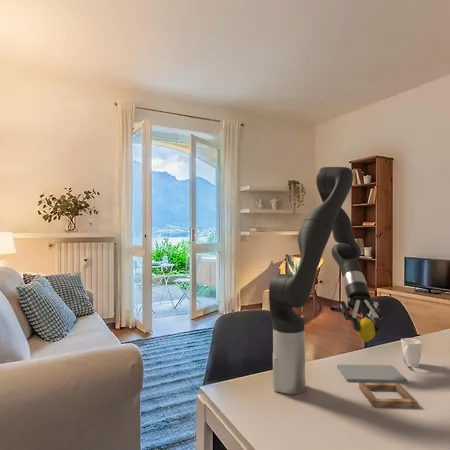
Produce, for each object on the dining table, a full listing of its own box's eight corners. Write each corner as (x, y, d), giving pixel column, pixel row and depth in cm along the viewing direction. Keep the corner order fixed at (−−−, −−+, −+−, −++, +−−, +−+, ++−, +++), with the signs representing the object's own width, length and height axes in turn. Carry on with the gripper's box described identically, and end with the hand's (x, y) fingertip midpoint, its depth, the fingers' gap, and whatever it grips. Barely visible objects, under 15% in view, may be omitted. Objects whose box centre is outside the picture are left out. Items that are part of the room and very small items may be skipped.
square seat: (372, 406, 93) (372, 400, 93) (359, 387, 104) (358, 382, 104) (417, 407, 92) (417, 401, 92) (398, 388, 104) (398, 383, 104)
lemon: (377, 345, 111) (376, 319, 112) (358, 344, 113) (358, 319, 113) (373, 339, 117) (373, 315, 117) (355, 339, 118) (355, 314, 118)
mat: (346, 381, 109) (346, 379, 109) (337, 366, 121) (337, 364, 121) (407, 382, 108) (407, 379, 108) (391, 367, 120) (391, 365, 120)
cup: (426, 364, 122) (426, 341, 122) (416, 372, 115) (415, 347, 115) (405, 359, 127) (404, 336, 127) (393, 366, 120) (393, 342, 121)
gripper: (336, 280, 123) (347, 324, 111) (379, 280, 122) (394, 324, 110) (333, 293, 128) (342, 336, 116) (374, 293, 127) (388, 336, 115)
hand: (368, 330), depth 113 cm, fingers closed on lemon, 5 cm apart
